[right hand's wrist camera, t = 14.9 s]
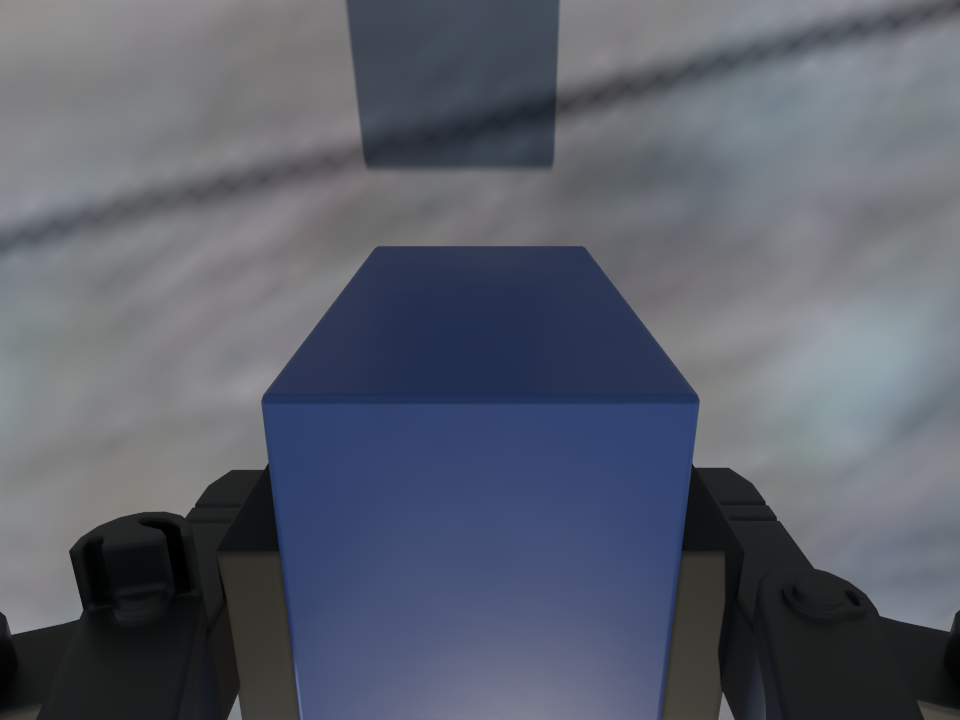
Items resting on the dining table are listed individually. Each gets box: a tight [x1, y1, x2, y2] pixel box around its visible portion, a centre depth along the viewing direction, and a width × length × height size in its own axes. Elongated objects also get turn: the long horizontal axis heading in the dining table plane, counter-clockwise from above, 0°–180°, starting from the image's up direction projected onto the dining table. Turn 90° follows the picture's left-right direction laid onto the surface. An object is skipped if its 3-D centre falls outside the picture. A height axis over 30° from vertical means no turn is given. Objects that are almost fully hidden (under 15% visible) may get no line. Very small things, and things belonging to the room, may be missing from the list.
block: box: [261, 246, 700, 720], centre depth 13 cm, size 5×7×9 cm
